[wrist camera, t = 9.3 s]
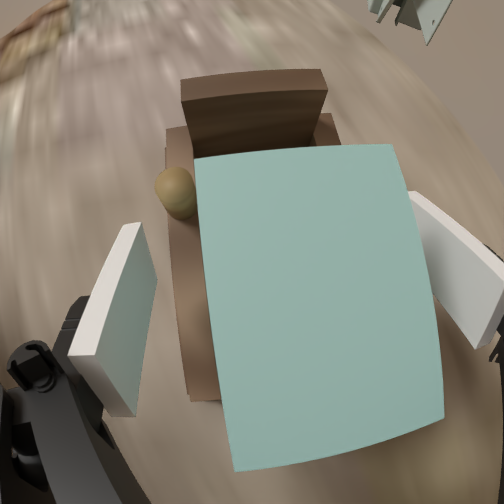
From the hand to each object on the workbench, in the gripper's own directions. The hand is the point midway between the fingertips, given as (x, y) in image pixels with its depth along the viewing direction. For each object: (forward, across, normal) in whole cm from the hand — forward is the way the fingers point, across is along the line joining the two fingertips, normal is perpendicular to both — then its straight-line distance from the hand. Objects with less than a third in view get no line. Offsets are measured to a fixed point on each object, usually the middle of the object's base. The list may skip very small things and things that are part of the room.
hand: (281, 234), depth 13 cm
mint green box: (+2, 0, -6) cm, 6 cm away
